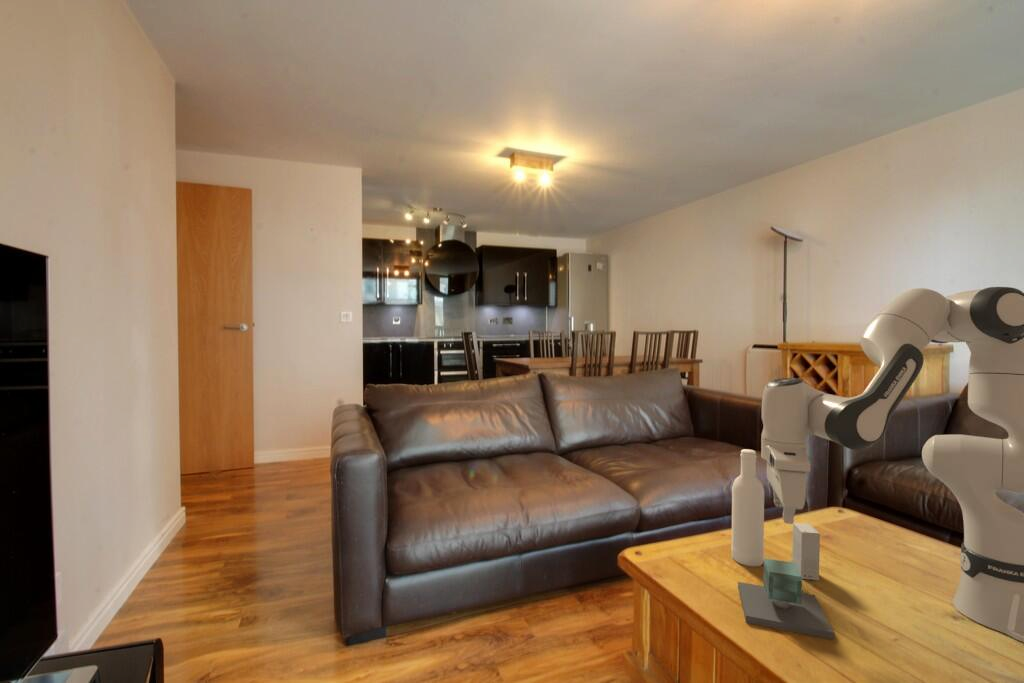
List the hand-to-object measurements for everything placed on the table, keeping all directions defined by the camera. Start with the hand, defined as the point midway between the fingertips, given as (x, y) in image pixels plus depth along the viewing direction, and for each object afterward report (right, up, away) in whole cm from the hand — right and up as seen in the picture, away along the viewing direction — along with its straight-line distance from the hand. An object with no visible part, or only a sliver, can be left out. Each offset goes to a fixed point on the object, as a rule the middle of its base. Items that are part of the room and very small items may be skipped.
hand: (783, 513), depth 101 cm
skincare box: (+15, -22, +16) cm, 31 cm away
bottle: (+4, -22, +24) cm, 32 cm away
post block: (0, -22, +1) cm, 22 cm away
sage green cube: (0, -18, 0) cm, 18 cm away
